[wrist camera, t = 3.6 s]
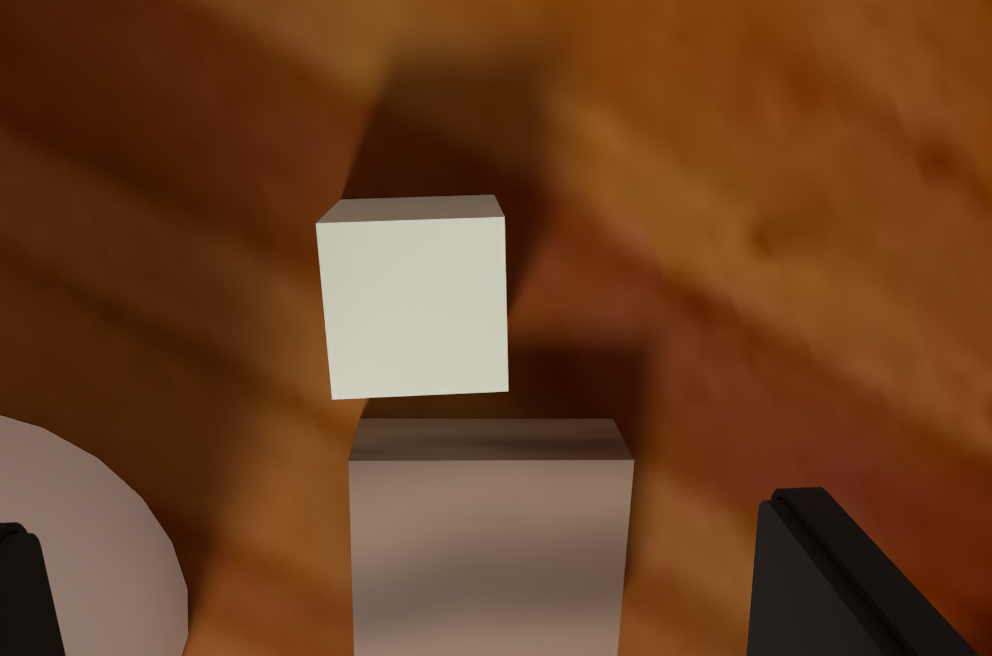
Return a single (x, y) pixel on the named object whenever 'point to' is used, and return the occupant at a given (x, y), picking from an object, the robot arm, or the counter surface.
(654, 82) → the counter surface
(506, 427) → the pinkish brown square block
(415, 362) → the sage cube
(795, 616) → the robot arm
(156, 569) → the white bottle-shaped block
